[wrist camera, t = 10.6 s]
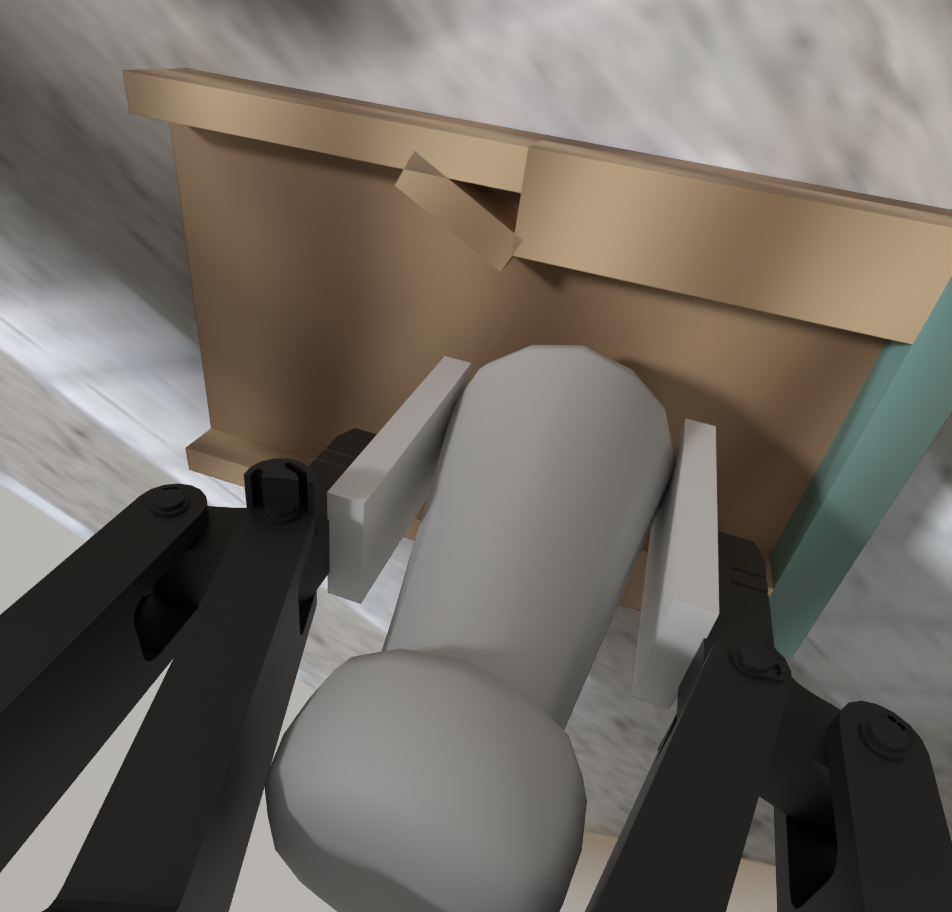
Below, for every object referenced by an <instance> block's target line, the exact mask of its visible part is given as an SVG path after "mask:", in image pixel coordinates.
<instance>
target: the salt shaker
mask: <svg viewBox="0 0 952 912" xmlns="http://www.w3.org/2000/svg"><path fill="white" fill-rule="evenodd" d="M674 467H675V461H674V456H673V450H672V444H671V438H670V433H669V427H668V421H667V416H666V411H665V408H664V407H663V406H662V404H661V403H660V402H659V401H658V400H657V398H656V397H655V396H654V395H653V394H652V393H651V391H650V390H649V389H648V388H647V387H646V385H645V384H644V383H643V382H642V381H641V380H640V378H639V377H638V376H637V375H636V374H635V372H634V371H633V370H632V369H630V368H628V367H626V366H624V365H622V364H620V363H618V362H616V361H614V360H612V359H610V358H608V357H606V356H604V355H602V354H600V353H598V352H597V351H595V350H594V349H593V348H591V347H590V346H587V345H530V346H528V347H526V348H523V349H521V350H518V351H516V352H514V353H511V354H509V355H506V356H504V357H502V358H499V359H497V360H494V361H492V362H490V363H488V364H486V365H485V366H483V367H482V368H480V369H479V370H478V372H477V373H476V375H475V376H474V377H473V379H472V380H471V382H470V383H469V384H468V386H467V387H466V389H465V390H464V391H463V393H462V394H461V396H460V397H459V398H458V400H457V401H456V403H455V404H454V406H453V409H452V413H451V416H450V420H449V423H448V427H447V430H446V434H445V437H444V441H443V444H442V448H441V451H440V455H439V458H438V462H437V465H436V469H435V472H434V476H433V479H432V482H431V486H430V489H429V493H428V496H427V500H426V503H425V507H424V510H423V514H422V517H421V521H420V524H419V528H418V531H417V535H416V538H415V542H414V545H413V549H412V552H411V556H410V559H409V563H408V566H407V570H406V573H405V577H404V580H403V584H402V587H401V591H400V594H399V598H398V601H397V605H396V608H395V611H394V615H393V618H392V621H391V624H390V627H389V630H388V633H387V636H386V639H385V642H384V646H383V649H382V652H377V653H372V654H366V655H360V656H355V657H351V658H350V659H348V660H347V661H346V662H345V663H343V664H342V665H341V666H339V667H338V668H337V669H335V670H334V671H333V673H332V674H331V675H330V676H329V677H328V678H327V679H326V680H325V681H324V683H323V684H322V685H321V686H320V687H319V688H318V689H317V690H316V691H315V693H314V694H313V695H312V696H311V697H310V698H309V700H308V701H307V702H306V704H305V705H304V707H303V708H302V709H301V711H300V712H299V714H298V715H297V716H296V718H295V719H294V721H293V722H292V723H291V725H290V726H289V728H288V729H287V730H286V732H285V733H284V735H283V737H282V740H281V742H280V745H279V747H278V750H277V752H276V754H275V757H274V759H273V762H272V764H271V766H270V769H269V771H268V774H267V776H266V779H265V781H264V785H265V794H266V803H267V812H268V819H269V823H270V828H271V833H272V837H273V841H274V846H275V850H276V851H277V852H278V854H279V855H280V856H281V858H282V859H283V860H284V861H285V863H286V864H287V865H288V867H289V868H290V869H291V871H292V872H293V873H294V874H295V876H296V877H297V878H298V880H299V881H300V882H301V883H302V884H303V885H305V886H306V887H307V888H308V889H310V890H311V891H312V892H313V893H315V894H316V895H317V896H318V897H319V898H321V899H322V900H323V901H324V902H326V903H327V904H328V905H330V906H331V907H332V908H333V909H335V910H336V911H337V912H559V911H560V909H561V907H562V905H563V902H564V900H565V897H566V894H567V891H568V888H569V885H570V882H571V879H572V877H573V874H574V871H575V868H576V865H577V862H578V859H579V856H580V853H581V851H582V842H583V832H584V823H585V813H586V804H587V800H586V794H585V788H584V782H583V777H582V774H581V771H580V768H579V765H578V762H577V759H576V756H575V753H574V750H573V747H572V744H571V741H570V738H569V735H568V734H567V733H566V732H565V731H564V729H565V727H566V725H567V722H568V720H569V718H570V715H571V713H572V711H573V708H574V706H575V704H576V701H577V699H578V697H579V694H580V692H581V690H582V687H583V685H584V683H585V680H586V678H587V676H588V673H589V671H590V669H591V666H592V664H593V662H594V659H595V657H596V655H597V652H598V650H599V648H600V645H601V643H602V641H603V638H604V636H605V634H606V631H607V629H608V627H609V624H610V622H611V620H612V617H613V615H614V613H615V610H616V608H617V606H618V603H619V601H620V599H621V596H622V594H623V592H624V589H625V587H626V585H627V582H628V580H629V578H630V575H631V573H632V571H633V568H634V566H635V564H636V561H637V559H638V557H639V554H640V552H641V550H642V547H643V545H644V543H645V540H646V538H647V536H648V533H649V531H650V529H651V526H652V524H653V522H654V519H655V517H656V515H657V512H658V510H659V507H660V505H661V502H662V499H663V496H664V494H665V491H666V488H667V486H668V483H669V480H670V477H671V475H672V472H673V469H674Z"/></svg>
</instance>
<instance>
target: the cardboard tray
mask: <svg viewBox="0 0 952 912" xmlns="http://www.w3.org/2000/svg"><path fill="white" fill-rule="evenodd" d="M123 76H124V82H125V88H126V94H127V100H128V106H129V112H130V114H135V115H139V116H144V117H149V118H154V119H159V120H164V121H169V122H170V128H171V136H172V143H173V150H174V158H175V165H176V173H177V180H178V187H179V195H180V202H181V209H182V217H183V224H184V231H185V239H186V246H187V254H188V261H189V268H190V276H191V283H192V290H193V298H194V305H195V313H196V320H197V327H198V335H199V342H200V349H201V357H202V364H203V371H204V379H205V386H206V394H207V401H208V408H209V416H210V423H211V429H210V430H209V431H207V432H206V433H205V434H203V435H202V436H201V437H199V438H198V439H197V440H195V441H194V442H193V443H191V444H190V445H189V446H187V447H186V454H187V460H188V466H189V470H192V471H195V472H198V473H201V474H204V475H208V476H211V477H214V478H217V479H220V480H224V481H227V482H230V483H233V484H236V485H240V486H243V487H245V484H244V475H243V474H244V473H245V472H246V471H247V470H248V469H249V468H250V467H251V466H253V465H255V464H257V463H259V462H261V461H265V460H269V459H273V458H289V459H293V460H297V461H300V462H302V463H304V464H306V465H307V466H309V465H310V464H311V463H312V462H313V461H314V460H316V459H317V457H318V456H319V455H320V454H321V453H322V451H323V450H326V447H327V446H328V445H329V444H330V443H331V442H332V441H333V440H334V439H335V438H336V437H337V436H339V435H341V434H343V433H345V432H347V431H350V430H352V429H354V428H357V429H361V430H364V431H368V432H371V433H374V434H378V433H379V432H380V430H381V429H382V428H383V427H384V426H385V425H386V423H387V422H388V421H389V420H390V419H391V418H392V417H393V415H394V414H395V413H396V412H397V411H398V410H399V408H400V407H401V406H402V405H403V404H404V403H405V402H406V400H407V399H408V398H409V397H410V396H411V395H412V393H413V392H414V391H415V390H416V389H417V388H418V386H419V385H420V384H421V383H422V382H423V381H424V380H425V378H426V377H427V376H428V375H429V374H430V373H431V371H432V370H433V369H434V368H435V367H436V366H437V364H438V363H439V362H440V361H441V360H442V359H443V358H444V356H447V357H451V358H454V359H458V360H462V361H466V362H470V363H471V368H470V376H469V383H470V382H471V380H472V379H473V377H474V376H475V375H476V373H477V372H478V370H479V369H480V368H482V367H483V366H485V365H486V364H488V363H490V362H492V361H494V360H497V359H499V358H502V357H504V356H506V355H509V354H511V353H514V352H516V351H518V350H521V349H523V348H526V347H528V346H530V345H587V346H590V347H591V348H593V349H594V350H595V351H597V352H598V353H600V354H602V355H604V356H606V357H608V358H610V359H612V360H614V361H616V362H618V363H620V364H622V365H624V366H626V367H628V368H630V369H632V370H633V371H634V372H635V374H636V375H637V376H638V377H639V378H640V380H641V381H642V382H643V383H644V384H645V385H646V387H647V388H648V389H649V390H650V391H651V393H652V394H653V395H654V396H655V397H656V398H657V400H658V401H659V402H660V403H661V404H662V406H663V407H664V408H665V411H666V416H667V421H668V427H669V433H670V438H671V444H672V450H674V447H675V445H676V442H677V439H678V437H679V434H680V431H681V429H682V426H683V423H684V421H685V418H686V419H690V420H693V421H697V422H701V423H705V424H709V425H713V426H716V469H717V523H718V531H720V532H723V533H727V534H730V535H734V536H737V537H741V538H744V539H748V540H751V541H753V542H754V543H755V545H756V546H757V548H758V549H759V551H760V553H761V554H762V556H763V557H764V559H765V565H766V575H767V578H766V581H767V584H768V595H769V602H770V611H771V620H772V629H773V638H774V647H775V648H776V650H777V651H778V652H779V653H780V654H781V655H782V656H785V657H788V658H792V657H793V655H794V654H795V652H796V651H797V649H798V647H799V646H800V644H801V643H802V641H803V640H804V638H805V637H806V635H807V634H808V632H809V631H810V629H811V627H812V626H813V624H814V623H815V621H816V620H817V618H818V617H819V615H820V614H821V612H822V611H823V609H824V607H825V606H826V604H827V603H828V601H829V600H830V598H831V597H832V595H833V594H834V592H835V591H836V589H837V587H838V586H839V584H840V583H841V581H842V580H843V578H844V577H845V575H846V574H847V572H848V571H849V569H850V567H851V566H852V564H853V563H854V561H855V560H856V558H857V557H858V555H859V554H860V552H861V551H862V549H863V547H864V546H865V544H866V543H867V541H868V540H869V538H870V537H871V535H872V534H873V532H874V531H875V529H876V527H877V526H878V524H879V523H880V521H881V520H882V518H883V517H884V515H885V514H886V512H887V511H888V509H889V507H890V506H891V504H892V503H893V501H894V500H895V498H896V497H897V495H898V494H899V492H900V491H901V489H902V487H903V486H904V484H905V483H906V481H907V480H908V478H909V477H910V475H911V474H912V472H913V471H914V469H915V467H916V466H917V464H918V463H919V461H920V460H921V458H922V457H923V455H924V454H925V452H926V451H927V449H928V447H929V446H930V444H931V443H932V441H933V440H934V438H935V437H936V435H937V434H938V432H939V431H940V429H941V427H942V426H943V424H944V423H945V421H946V420H947V418H948V417H949V415H950V414H951V412H952V210H948V209H943V208H938V207H932V206H927V205H921V204H916V203H911V202H905V201H900V200H894V199H889V198H884V197H878V196H873V195H867V194H862V193H857V192H851V191H846V190H840V189H835V188H830V187H824V186H819V185H813V184H808V183H803V182H797V181H792V180H786V179H781V178H776V177H770V176H765V175H759V174H754V173H749V172H743V171H738V170H732V169H727V168H722V167H716V166H711V165H705V164H700V163H695V162H689V161H684V160H678V159H673V158H667V157H662V156H657V155H651V154H646V153H640V152H635V151H630V150H624V149H619V148H613V147H608V146H603V145H597V144H592V143H586V142H581V141H576V140H570V139H565V138H559V137H554V136H549V135H543V134H538V133H532V132H527V131H522V130H516V129H511V128H505V127H500V126H495V125H489V124H484V123H478V122H473V121H468V120H462V119H457V118H451V117H446V116H441V115H435V114H430V113H424V112H419V111H414V110H408V109H403V108H397V107H392V106H387V105H381V104H376V103H370V102H365V101H360V100H354V99H349V98H343V97H338V96H333V95H327V94H322V93H316V92H311V91H306V90H300V89H295V88H289V87H284V86H279V85H273V84H268V83H262V82H257V81H252V80H246V79H241V78H235V77H230V76H225V75H219V74H214V73H208V72H203V71H198V70H192V69H187V68H183V69H152V70H123ZM469 383H468V384H469ZM426 500H427V499H426ZM425 503H426V501H425V502H424V504H423V505H422V507H421V509H420V510H419V512H418V513H417V515H416V517H415V518H414V520H413V521H412V523H411V525H410V526H409V528H408V529H407V531H406V533H405V534H404V536H403V537H405V538H409V539H412V540H415V538H416V535H417V531H418V528H419V524H420V521H421V517H422V514H423V510H424V507H425ZM650 532H651V529H650V531H649V533H648V536H647V538H646V540H645V543H644V545H643V547H642V550H641V552H640V554H639V557H638V559H637V561H636V564H635V566H634V568H633V571H632V573H631V575H630V578H629V580H628V582H627V585H626V587H625V589H624V592H623V594H622V596H621V599H620V601H619V603H618V604H619V605H622V606H626V607H629V608H632V609H635V610H638V611H641V607H642V598H643V590H644V582H645V574H646V565H647V557H648V549H649V541H650Z"/></svg>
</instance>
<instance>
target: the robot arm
mask: <svg viewBox="0 0 952 912" xmlns="http://www.w3.org/2000/svg"><path fill="white" fill-rule="evenodd" d="M470 368H471V363H470V362H466V361H462V360H458V359H454V358H451V357H447V356H444V358H443V359H442V360H441V361H440V362H439V363H438V364H437V366H436V367H435V368H434V369H433V370H432V371H431V373H430V374H429V375H428V376H427V377H426V378H425V380H424V381H423V382H422V383H421V384H420V385H419V386H418V388H417V389H416V390H415V391H414V392H413V393H412V395H411V396H410V397H409V398H408V399H407V400H406V402H405V403H404V404H403V405H402V406H401V407H400V408H399V410H398V411H397V412H396V413H395V414H394V415H393V417H392V418H391V419H390V420H389V421H388V422H387V423H386V425H385V426H384V427H383V428H382V429H381V430H380V432H379V433H378V434H374V433H371V432H368V431H364V430H361V429H357V428H354V429H352V430H350V431H347V432H345V433H343V434H341V435H339V436H337V437H336V438H335V439H334V440H333V441H332V442H331V443H330V444H329V445H328V446H327V447H326V450H323V451H322V453H321V454H320V455H319V456H318V457H317V459H316V460H314V461H313V462H312V463H311V464H310V465H309V466H307V465H306V464H304V463H302V462H300V461H297V460H293V459H289V458H273V459H269V460H265V461H261V462H259V463H257V464H255V465H253V466H251V467H250V468H249V469H248V470H247V471H246V472H245V473H244V474H243V475H244V484H245V494H246V504H247V508H229V507H214V506H207V499H206V496H205V495H204V493H203V492H202V491H201V490H200V489H198V488H196V487H194V486H191V485H185V484H169V485H162V486H159V487H156V488H153V489H150V490H149V491H147V492H145V493H144V494H142V495H141V496H139V497H138V498H137V499H136V500H135V501H133V502H132V503H131V504H130V505H129V506H128V507H126V508H125V509H124V510H123V511H122V512H120V513H119V514H118V515H117V516H116V517H115V518H113V519H112V520H111V521H110V522H109V523H108V524H106V525H105V526H104V527H103V528H102V529H101V530H99V531H98V532H97V533H96V534H95V535H93V536H92V537H91V538H90V539H89V540H88V541H86V542H85V543H84V544H83V545H82V546H81V547H79V548H78V549H77V550H76V551H75V552H74V553H72V554H71V555H70V556H69V557H68V558H67V559H65V561H63V562H62V563H61V564H59V565H58V566H57V567H56V568H55V569H54V570H52V571H51V572H50V573H49V574H48V575H47V576H46V577H44V578H43V579H42V580H41V581H40V582H38V583H37V584H36V585H35V586H34V587H33V588H31V589H30V590H29V591H28V592H27V593H25V594H24V595H23V596H22V597H21V598H20V599H18V600H17V601H16V602H15V603H14V604H12V606H10V607H9V608H8V609H7V610H5V611H4V612H3V613H2V614H1V615H0V872H1V871H2V870H3V868H4V867H5V866H6V865H7V863H8V862H9V861H10V860H11V859H12V857H13V856H14V855H15V854H16V852H17V851H18V850H19V849H20V847H21V846H22V845H23V844H24V843H25V841H26V840H27V839H28V838H29V836H30V835H31V834H32V833H33V831H34V830H35V829H36V828H37V826H38V825H39V824H40V822H41V821H42V820H43V819H44V818H45V816H46V815H47V814H48V813H49V812H50V810H51V809H52V808H53V807H54V805H55V804H56V803H57V802H58V800H59V799H60V798H61V797H62V796H63V794H64V793H65V792H66V791H67V789H68V788H69V787H70V786H71V784H72V783H73V782H74V781H75V779H76V778H77V777H78V775H79V774H80V773H81V772H82V771H83V770H84V768H85V767H86V766H87V764H88V763H89V762H90V761H91V760H92V758H93V757H94V756H95V755H96V753H97V752H98V751H99V750H100V748H101V747H102V746H103V745H104V743H105V742H106V741H107V740H108V739H109V737H110V736H111V735H112V733H113V732H114V731H115V730H116V729H117V727H118V726H119V725H120V724H121V722H122V721H123V720H124V719H125V717H126V716H127V715H128V714H129V712H130V711H131V710H132V709H133V708H134V706H135V705H136V704H137V703H138V701H139V700H140V699H141V698H142V697H143V695H144V694H145V693H146V692H147V690H148V689H149V688H150V687H151V685H152V684H153V683H154V682H155V680H156V679H157V678H158V677H159V675H160V674H161V673H162V672H163V671H164V669H165V668H166V667H167V666H168V664H169V663H170V662H171V660H172V659H173V658H174V659H173V661H172V663H171V665H170V667H169V669H168V671H167V673H166V675H165V677H164V679H163V682H162V684H161V685H160V688H159V690H158V692H157V694H156V696H155V698H154V700H153V702H152V704H151V706H150V709H149V710H148V712H147V714H146V716H145V718H144V721H143V722H142V724H141V727H140V729H139V731H138V733H137V735H136V737H135V739H134V741H133V743H132V745H131V747H130V749H129V751H128V753H127V755H126V758H125V759H124V762H123V764H122V766H121V768H120V770H119V772H118V774H117V776H116V778H115V780H114V782H113V784H112V786H111V788H110V790H109V792H108V795H107V797H106V798H105V801H104V803H103V805H102V807H101V809H100V811H99V813H98V815H97V817H96V819H95V821H94V823H93V825H92V827H91V829H90V831H89V834H88V835H87V838H86V840H85V842H84V844H83V846H82V848H81V850H80V852H79V854H78V856H77V858H76V860H75V862H74V864H73V866H72V868H71V870H70V873H69V875H68V877H67V879H66V881H65V883H64V885H63V887H62V888H61V891H60V892H59V894H58V896H57V897H56V899H55V900H54V901H53V903H52V904H51V905H50V906H49V907H48V908H47V909H45V910H44V911H42V912H228V911H229V908H230V905H231V901H232V898H233V894H234V891H235V887H236V884H237V881H238V877H239V873H240V870H241V867H242V863H243V859H244V856H245V853H246V849H247V846H248V842H249V839H250V835H251V832H252V828H253V825H254V821H255V818H256V814H257V811H258V807H259V804H260V800H261V797H262V793H263V790H264V787H265V785H264V781H265V779H266V776H267V774H268V771H269V769H270V766H271V762H272V759H273V755H274V751H275V748H276V745H277V741H278V738H279V734H280V731H281V727H282V724H283V720H284V717H285V713H286V710H287V706H288V703H289V700H290V696H291V692H292V689H293V686H294V682H295V679H296V675H297V672H298V668H299V665H300V661H301V658H302V654H303V651H304V647H305V644H306V640H307V637H308V633H309V630H310V626H311V623H312V620H313V616H314V613H315V609H316V606H317V589H318V587H319V586H320V585H321V583H322V582H323V581H324V579H325V578H326V576H327V575H328V593H330V594H333V595H336V596H339V597H342V598H345V599H348V600H351V601H354V602H357V603H360V604H361V602H362V601H363V599H364V598H365V596H366V595H367V593H368V591H369V590H370V588H371V587H372V585H373V583H374V582H375V580H376V579H377V577H378V575H379V574H380V572H381V571H382V569H383V568H384V566H385V564H386V563H387V561H388V560H389V558H390V556H391V555H392V553H393V552H394V550H395V548H396V547H397V545H398V544H399V542H400V540H401V539H402V537H403V536H404V534H405V533H406V531H407V529H408V528H409V526H410V525H411V523H412V521H413V520H414V518H415V517H416V515H417V513H418V512H419V510H420V509H421V507H422V505H423V504H424V502H425V501H426V499H427V496H428V493H429V489H430V486H431V482H432V479H433V476H434V472H435V469H436V465H437V462H438V458H439V455H440V451H441V448H442V444H443V441H444V437H445V434H446V430H447V427H448V423H449V420H450V416H451V413H452V409H453V406H454V404H455V403H456V401H457V400H458V398H459V397H460V396H461V394H462V393H463V391H464V390H465V389H466V387H467V386H468V383H469V376H470ZM673 456H674V461H675V467H674V469H673V472H672V475H671V477H670V480H669V483H668V486H667V488H666V491H665V494H664V496H663V499H662V502H661V505H660V507H659V510H658V512H657V515H656V517H655V519H654V522H653V524H652V526H651V532H650V541H649V549H648V557H647V565H646V574H645V582H644V590H643V598H642V607H641V615H640V623H639V631H638V640H637V648H636V656H635V664H634V673H633V681H632V689H631V696H632V697H635V698H638V699H641V700H644V701H647V702H650V703H653V704H656V705H658V706H661V707H664V708H667V709H670V708H671V706H672V704H673V702H674V700H675V698H676V696H677V694H678V707H677V714H676V716H675V718H674V720H673V722H672V724H671V725H670V727H669V729H668V731H667V733H666V735H665V737H664V739H663V740H662V742H661V744H660V746H659V748H658V750H659V751H658V754H657V756H656V758H655V760H654V762H653V764H652V767H651V769H650V771H649V773H648V775H647V777H646V780H645V782H644V784H643V786H642V788H641V791H640V793H639V795H638V797H637V799H636V801H635V804H634V806H633V808H632V810H631V812H630V814H629V817H628V819H627V821H626V823H625V825H624V828H623V830H622V832H621V834H620V836H619V838H618V841H617V843H616V845H615V847H614V850H613V852H612V854H611V856H610V858H609V860H608V862H607V865H606V867H605V869H604V871H603V873H602V875H601V878H600V880H599V882H598V884H597V886H596V889H595V891H594V893H593V895H592V897H591V900H590V902H589V904H588V906H587V908H586V911H585V912H726V909H727V906H728V902H729V899H730V895H731V892H732V888H733V884H734V881H735V877H736V874H737V871H738V867H739V864H740V860H741V857H742V853H743V850H744V846H745V843H746V839H747V836H748V832H749V829H750V825H751V822H752V819H753V815H754V812H755V808H756V805H757V801H758V798H759V796H760V797H761V798H763V799H764V800H766V801H767V802H769V803H770V804H772V805H773V806H774V826H775V856H776V883H777V912H952V842H951V838H950V834H949V830H948V826H947V822H946V819H945V815H944V811H943V807H942V803H941V799H940V795H939V791H938V788H937V784H936V780H935V776H934V772H933V768H932V764H931V760H930V757H929V754H928V752H927V749H926V747H925V745H924V743H923V741H922V739H921V738H920V737H919V736H918V734H917V733H916V732H915V731H914V730H913V728H912V727H911V726H910V725H909V724H908V723H906V722H905V721H904V720H903V719H901V718H900V717H899V716H898V715H896V714H895V713H894V712H892V711H890V710H888V709H886V708H884V707H882V706H880V705H878V704H874V703H869V702H864V701H857V702H851V703H848V704H847V705H846V706H845V707H844V708H843V709H842V710H840V709H838V708H837V707H835V706H833V705H831V704H830V703H828V702H826V701H825V700H823V699H821V698H819V697H818V696H816V695H814V694H813V693H811V692H810V691H808V690H807V689H805V688H804V687H802V686H801V685H800V684H799V683H797V682H796V681H795V680H794V679H793V678H792V677H791V670H790V668H789V666H788V664H787V662H786V660H785V658H784V657H783V656H782V655H781V654H780V653H779V652H778V651H777V650H776V648H775V647H774V638H773V629H772V620H771V611H770V602H769V595H768V584H767V581H766V578H767V575H766V565H765V559H764V557H763V556H762V554H761V553H760V551H759V549H758V548H757V546H756V545H755V543H754V542H753V541H751V540H748V539H744V538H741V537H737V536H734V535H730V534H727V533H723V532H720V531H718V523H717V469H716V426H713V425H709V424H705V423H701V422H697V421H693V420H690V419H686V418H685V421H684V423H683V426H682V429H681V431H680V434H679V437H678V439H677V442H676V445H675V447H674V450H673Z"/></svg>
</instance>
